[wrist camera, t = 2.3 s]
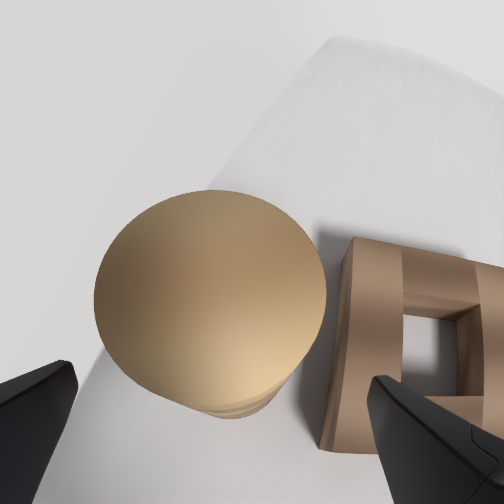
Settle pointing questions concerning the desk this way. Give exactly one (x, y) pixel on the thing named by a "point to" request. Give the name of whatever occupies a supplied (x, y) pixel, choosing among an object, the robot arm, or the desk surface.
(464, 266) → the walnut square frame
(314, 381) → the desk surface
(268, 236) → the tan tall cylinder
